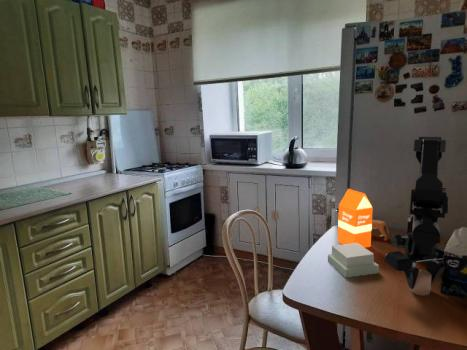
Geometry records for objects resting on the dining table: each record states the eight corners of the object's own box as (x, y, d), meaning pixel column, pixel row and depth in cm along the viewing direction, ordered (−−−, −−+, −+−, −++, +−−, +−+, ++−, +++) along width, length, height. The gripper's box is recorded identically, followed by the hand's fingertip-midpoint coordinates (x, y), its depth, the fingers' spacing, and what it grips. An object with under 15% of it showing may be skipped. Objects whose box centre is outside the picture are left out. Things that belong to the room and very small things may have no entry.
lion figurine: (351, 234, 133) (352, 212, 131) (356, 230, 137) (357, 208, 135) (391, 242, 124) (393, 219, 122) (395, 237, 128) (397, 215, 126)
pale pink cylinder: (420, 284, 94) (422, 268, 93) (434, 294, 90) (436, 276, 89) (404, 287, 93) (406, 270, 92) (417, 296, 89) (419, 279, 88)
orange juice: (353, 250, 118) (356, 195, 114) (337, 241, 126) (339, 189, 122) (371, 246, 121) (374, 192, 117) (353, 237, 129) (356, 187, 125)
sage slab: (358, 259, 112) (358, 250, 112) (378, 274, 102) (379, 265, 101) (327, 263, 110) (327, 254, 110) (345, 279, 100) (345, 270, 99)
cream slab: (356, 251, 111) (357, 242, 111) (373, 263, 103) (374, 254, 102) (331, 254, 109) (332, 245, 109) (346, 267, 101) (347, 257, 100)
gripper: (431, 219, 98) (427, 269, 101) (374, 225, 94) (371, 277, 97) (464, 233, 87) (458, 288, 90) (400, 240, 83) (396, 297, 87)
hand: (419, 287), depth 91 cm, fingers closed on pale pink cylinder, 5 cm apart
